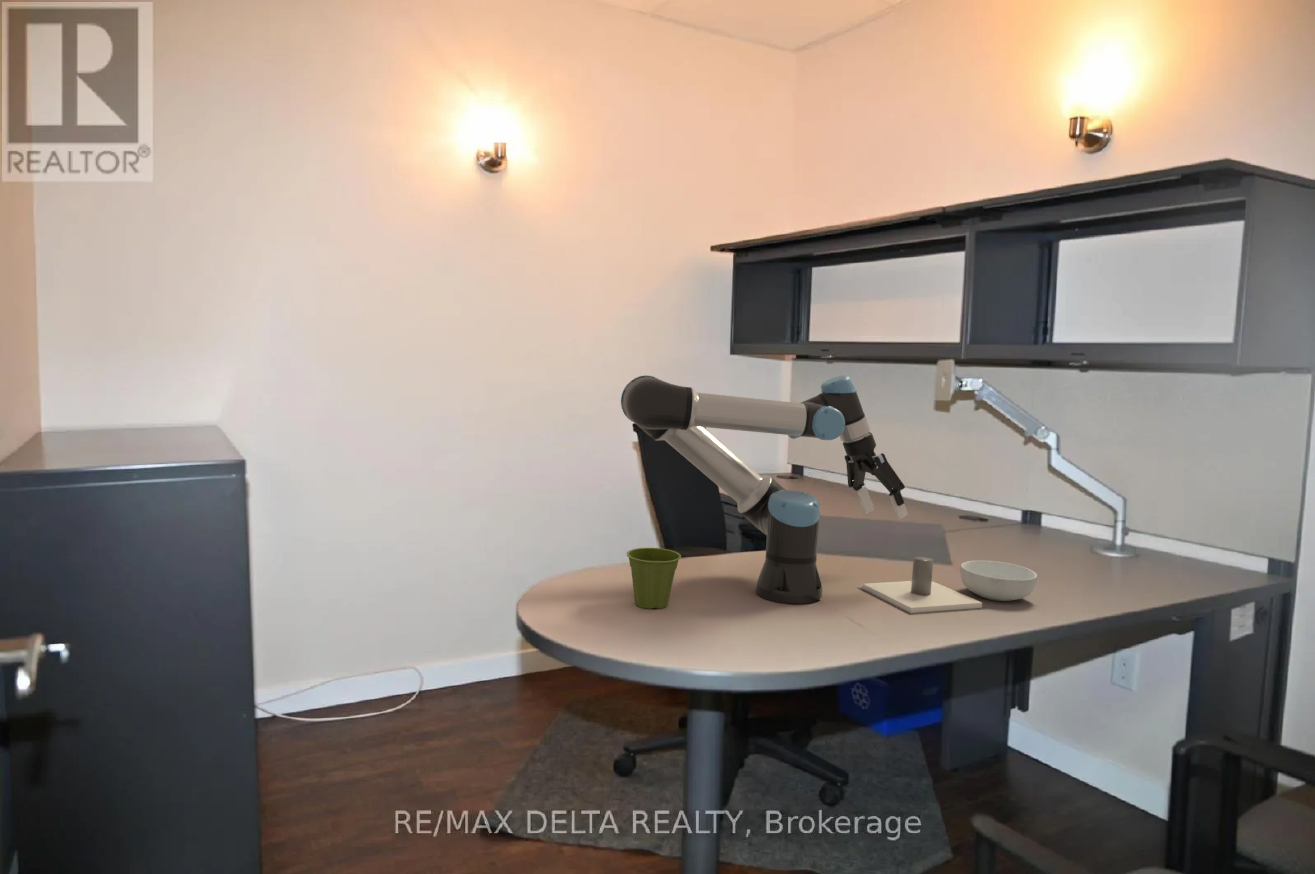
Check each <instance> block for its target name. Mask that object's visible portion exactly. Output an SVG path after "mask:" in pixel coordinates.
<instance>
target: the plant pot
mask: <svg viewBox="0 0 1315 874" xmlns="http://www.w3.org/2000/svg"><path fill="white" fill-rule="evenodd" d="M626 556H627V557H628V561H629V567H630V570H631V577H632V578H631V580H632V590H633V598H634V603H635V605H636V606H638V607H639V608H642V609H643V608H644V609H645V610H646V609H648V610H651V609H654V608H655V609H663V608H666V607H668V604H669V601H670V595H671V591H672V587H673V583H674V582H673V581H674V577H675V574H676V570H677V568H678V564H679V563H678V562H679V560H681V558H682V554H681V553H679V552H677V551H675V550H671V549H666V548H660V547H659V548H658V547H638V548H633V549H630V550H627V552H626Z"/></svg>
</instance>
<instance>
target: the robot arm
mask: <svg viewBox="0 0 1315 874" xmlns="http://www.w3.org/2000/svg"><path fill="white" fill-rule="evenodd" d="M820 388H821V392H820V393H819V394H817V395H816V396H814V397H813V396H812V397H811V398H808V399H806V400H804V401H801V402H792V401H791V402H789V401H781V400H772V399H763V398H762V399H761V398H755V397H753V398H752V397H742V396H733V395H725V394H716V393H715V394H714V393H704V392H696V390H695V389H694V387H691V386H682V385H677V384H673V383H670V382H666V381H664V380H662V379H659V378H657V377H655V376H653V375H640V376H637V377H635V378H633V379H631V380H630V381H629V382H628V383H627V384H626V385H625V387H624V389H623V391H622V393H621V397H620V405H621V406H620V407H621V409H622V412H623V414H624V416H625V417H626V418H627V419H628V420H630V421H631V422H633V423H634V424H635V425H637V427H638V428H640V429H641V430H642V431H643V432H644V433H646V434H647V435H648V436H649V437H651V438H652V439H653V440H654V441H656V442H657V441H665V442H666V443H667V444H668V445H670V446H671V447H672V448H673V449H675V450H676V452H678V453H679V454H680V455H681V456H683V457H684V458H685V459H686V460H687V461H688V462H690V463H691V464H692V465H693V466H694V467H696V469H698V470H699V471H700V472H701V473H702V474H703V475H705V476H706V477H707V478H708V479H709V480H711V482H713V483H714V485H716V486H718V488H720V489H721V490H722V491H723V492H724V493H725V494H727V495H728V496H729V497H730V498H731V499H733V500H734V501H735V502H736V503H737V512H738V513H740V514H741V516H743V517H744V518H745V519H746V520H748V522H750V523H751V524H752V525H753V526H754V527H755V528H756V529H757V530H758V531H760V532H762V533H763V534H764V535H765V536H766V541H765V542H766V543H765V544H766V545H765V546H766V547H765V560H764V563H763V566H762V567H761V569H760V573H759V575H758V578H757V580H756V583H755V584H756V587H755V592H756V594H757V595H758V596H759V597H761V598H763V599H765V600H769V601H772V602H776V603H777V602H778V603H782V604H783V603H784V604H793V605H794V604H795V605H796V604H798V605H799V604H800V605H801V604H802V605H803V604H813V603H816V602H818V601H820V599H821V598H822V597H823V596H822V595H823V586H822V582H821V579H820V578H821V576H820V574H819V571H818V566H817V560H818V559H817V556H818V541H819V527H820V518H821V510H820V506H821V504H820V502H819V500H818V499H817V498H816V496H814V495H812V494H811V493H805V492H803V491H798V490H792V489H791V490H790V489H788V490H787V489H785V487H783V485H781V484H780V483H779V482H777V481H776V480H775V479H774V478H773V477H772V476H770V475H769V474H765V475H760V474H759V473H758V472H756V471H755V469H753V468H752V467H751V466H750V465H749V464H748V463H746V462H745V461H744V460H743V459H742V458H741V457H739V455H737V454H736V453H735V452H734V451H732V450H731V449H730V448H729V447H728V446H726V444H724V443H723V442H722V441H721V440H719V439H718V438H717V437H716V436H715V435H714V434H713V433H712V432H710V430H709V429H707V428H710V429H711V428H712V429H721V430H730V431H731V430H732V431H739V432H740V431H743V432H752V433H762V434H763V433H764V434H774V435H784V436H785V435H787V436H788V437H789V438H790V439H793V440H794V439H798V438H800V437H801V438H803V437H804V438H815V439H819V440H820V441H821V440H822V441H833V440H835V439H837V438H839V439H840V441H842V446H843V449H844V452H845V454H846V455H844V461H845V463H846V475H847V476H846V477H847V485H848V487H849V488H852V489H853V490H854V491H855V492H856V495H857V497H858V500H859V502H860V504H861V506H862V507H861V508H862V510H863V512H864V515H868V514H870V513H872V512H873V511H874V510H875V507H874V504H873V501H872V499H871V496H870V493H869V491H868V488H867V486H865V479H866V478H865V477H866V474H870V475H871V476H873V477H875V478H876V479H877V480H878V481H879V482H880V483H881V484H882V486H883V487H885V489H886V490H887V491H888V492H889V494H888V496H889V499H890V501H891V505H892V507H893V509H894V512H895V514H896V517H897V520H901V519H903V518H904V517H906V516H908V515H909V512H908V510H907V506H906V505H905V500H904V498H903V495H902V493H901V491H902V490H904V489H905V488H906V486H905V484H904V483H903V481H902V480H901V479H900V477H899V476H898V475H897V473H896V471H895V470H894V469H893V467H892V466H891V464H890V463H889V461H888V459H887V457H886V455H885V454H884V453H883V452H882V453H880V454H878V455H877V454H876V452H875V449H876V447H877V443H876V440H875V438H874V434H873V433H872V432H871V428H870V425H869V422H868V420H867V417H866V414H865V412H864V409H863V406H862V404H861V402H860V401H861V400H860V398H859V395H858V393H857V389H856V387H855V385H854V383H853V380H852V378H851V377H849V376H848V375H839V376H835V377H832V378H830V379H827V380H825V381H823V383H821V385H820Z"/></svg>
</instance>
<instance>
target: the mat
mask: <svg viewBox="0 0 1315 874" xmlns="http://www.w3.org/2000/svg"><path fill="white" fill-rule="evenodd" d="M862 587H863V586H862ZM862 587H857V589H858V590H860V591H862V592H864V593H866V594H868V596H869V595H870V596H871V597H873V598H876V599H877V600H879V601H881V602H883V603H886V604H887V605H889V606H891V607H893V608H895V609H896V610H899V611H901V612H903V613H905V614H907V615H909V616H915V615H917V616H918V615H928V614H930V615H931V614H943V613H953V612H954V613H955V612H956V613H957V612H968V611H969V612H970V611H981V610H988V608H987V607H985V606H983V605H982V608H973V609H960V610H946V611H933V612H919V613H910V612H908V611H906V610H904V609H902V608H900V607H898V606H896V605H894V604H892V603H890V602H888V601H886V600H884V599H882V598H880V597H878V596H876V595H874V594H872V593H870V592H868V591H866V590H864V589H862Z"/></svg>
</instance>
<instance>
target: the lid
mask: <svg viewBox="0 0 1315 874" xmlns="http://www.w3.org/2000/svg"><path fill="white" fill-rule="evenodd" d="M933 568H934V559H933V558H930V557H924V556H915V557H913V561H912V571H911V572H912V573H911V575H912V576H911V580H905V581H904V580H903V581H888V582H887V581H885V582H871V583H869V582H868V583H862V589H864V590H866V591H868V592H870V593H872V594H874V595H876V596H878V597H880V598H882V599H884V600H886V601H888V602H890V603H892V604H894V605H896V606H898V607H900V608H902V609H904V610H906V611H908V612H910V613H919V612H933V611H946V610H960V609H973V608H982V606H983V602H981V601H979V600H977V599H975V598H972V597H971V596H968V595H966V594H963V593H961V592H958V591H956V590H954V589H951V588H948V587H947V586H944V585H942V584H940V583H937V582H935V581H934V580H933V572H934V571H933V570H934V569H933Z"/></svg>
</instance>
